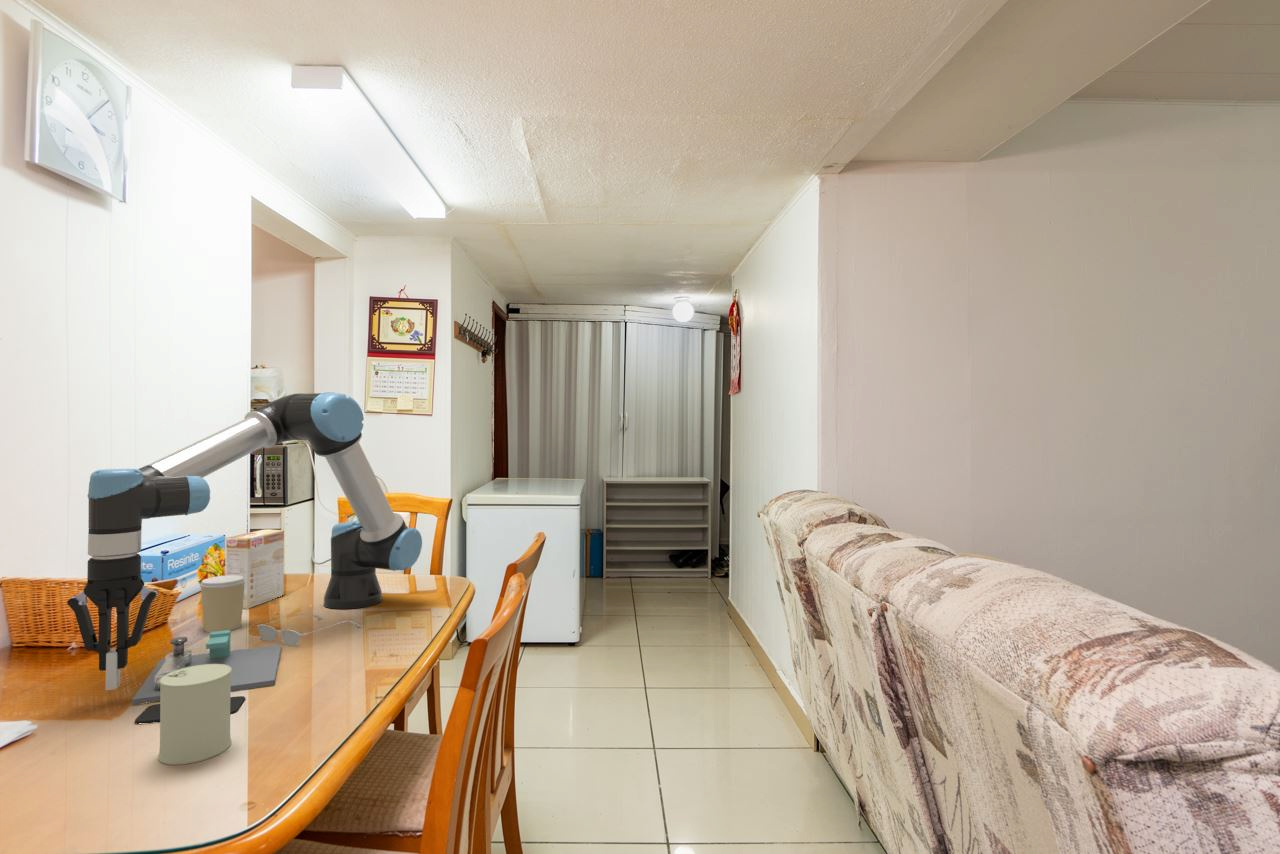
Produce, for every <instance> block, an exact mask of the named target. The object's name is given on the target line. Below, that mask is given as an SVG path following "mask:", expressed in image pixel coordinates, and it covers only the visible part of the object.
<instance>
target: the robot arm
mask: <svg viewBox="0 0 1280 854" xmlns="http://www.w3.org/2000/svg"><path fill="white" fill-rule="evenodd" d="M363 413H364V412H363V411H362V408H361V406H360V404H359V403H358V402H357V401H356V400H355V399H354V398H352V397H351V396H349V395H348V394H344V393H337V392H333V391H332V392H328V391H327V392H322V393H321V392H320V393H318V392H317V393H316V392H315V393H314V392H313V393H292V394H288V395H285V396H282V397H279V398H278V399H275V400H273V401H271V402H268V403H265V404H264V405H262V406H260V407H257V408H255V409H253V410H251V411H249V412H247V413H246V414H245V415H244V418H243V419H242V420H239V421H238V422H236V423H234V424H232V425H230V426H227V427H225V428H223V429H222V430H219V431H217V432H214V433H213V434H211V435H209V436H206V437H204V438H202V439H199V440H197V441H195V442H193V443H192V444H189V445H187V446H185V447H183V448H181V449H178V450H176V451H174V452H172V453H171V454H168V455H166V456H164V457H161V458H160V459H158V460H155V461H153V462H151V463H149V464H147V465H144V466H142V467H140V468H110V469H109V468H107V469H106V468H105V469H97V470H94V471H93V472H92V473H91V474H90V476H89V483H88V493H87V498H88V527H87V528H88V534H87V556H90V558H89V559H88V560H87V574H86V575H87V582H86V584H85V586H84V587H83V592H80V593H79V594H77V595H74V596H72V597H70V598H69V599H68V600H67V601H66V603H67V605H68V606H69V608H70V609H71V610H72V611H73V613H74V615H75V618H76V622H77V625H78V628H79V632H80V635H81V638H82V642H83V645H84V649H85V651H87V652H91V651H92V652H96V653H98V669H99V671H100V672H103V671H105V691H111V690H112V691H113V690H117V689H118V688H119V686H120V685H121V670H122V669H125V668H126V666H127V665H128V658H129V656H128V655H129V653H128V652H129V648H132V647H136V646H137V645H138V643H140V641H141V640H142V636H143V633H144V629H145V626H146V623H147V619H148V616H149V613H150V610H151V606H152V603H153V602H154V600H155V599H156V598H157V596H158V595H159V590H158V589H151V588H149V587H146V585H145V582H144V580H143V579H142V555H140V554H139V552H141V551H142V523H143V520H147V519H153V518H163V517H175V516H188V515H192V514H198V513H201V512H203V511H204V510H205V509H206V508H207V507H208V505H209V504H210V501H211V488H210V485H209V484H208V482H207V480H206V479H204V478H205V477H207V476H210V475H211V474H213V473H214V472H217V471H218V470H221V469H222V468H224V467H226V466H228V465H230V464H232V463H234V462H235V461H237V460H240V459H242V458H243V457H245V456H247V455H249V454H251V453H254V452H255V451H257V450H259V449H261V448H265V449H269V448H272V447H274V446H276V445H278V444H281V443H284V442H292V441H308V443H309V445H310V446H311V448H312V449H313V451H314V453H315V455H316V456H319V457H323V458H325V459H326V461H327V463H328V466H329V467H330V469H331V471H332V473H333V475H334V476H335V478H336V480H337V482H338V484H339V486H340V488H341V490H342V492H343V494H344V495H345V497H346V500H347V501H348V503H349V505H350V507H351V509H352V511H353V512H354V514H355V516H356V518H357V520H354V521H353V520H352V521H346V522H339V523H336V524H334V526H332V529H331V537H330V574H331V575H330V579H329V582H328V584H327V588H326V589H325V593H324V597H323V606H324V607H326V608H330V609H335V610H336V609H337V610H347V609H359V608H365V607H371V606H374V605H376V604H379V603H380V602H382V601H383V591H382V588H381V585H380V582H379V580H378V577H377V573H376V571H377V570H376V569H379V570H387V571H407V570H408V569H410V568H412V567H413V566H414V565H415V564H416V562H417V561H418V560H419V557H420V555H421V551H422V549H423V539H422V534H421V532H420V531H419V530H418V529H417V528H414V527H411V526H410V527H408V526H407V524H406V522H405V520H404V518H403V516H402V515H401V514H399V513H397V512H394V511H393V508H392V507H391V505H390V503H389V501H388V498H387V496H386V494H385V493H384V491H383V489H382V487H381V484H380V482H379V481H378V480H379V479H377V476H376V475H375V472H374V470H373V468H372V466H371V464H370V462H369V459H368V458H367V456H366V454H365V452H364V450H363V448H362V445H361V444H360V441H361V439H362V437H363V433H362V430H363V428H364V423H363V421H364V414H363ZM139 594H141V595H140V601H142V602H141V603H140V606H139V610H138V613H137V616H136V618H135V622H134V626H133V629H132V633H131V636H130V635H129V631H130V629H129V628H130V606H131V603H132V602H133V601H134V600H135V598H136V597H137V596H138V595H139ZM88 600H90V602H92V603H93V604H94V605H95V606H96V607H97V615H98V637H97V633H96V630H95V627H94V625H93V624H94V623H93V621H92V617H91V613H90V610H89V607H88V605H87V603H88ZM113 608H115V611H116V612H115V613H116V648H111V647H112V646H113V644H112V611H113ZM129 636H130V638H129Z"/></svg>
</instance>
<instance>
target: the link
mask: <svg viewBox="0 0 1280 854" xmlns="http://www.w3.org/2000/svg"><path fill="white" fill-rule="evenodd" d="M187 642H188V637H186V636H179V637H173V638H171V639H170V645H173V647H172V649H173V650H172V652H171V651H170V652H169V653H167V654H165V655H164V658H165V663H164V664H163V665H162V667H161V668H160V670H159V671H158V673H157V674H156V676H155V687H154V688H155V689H160V679H161V678H162V677H163V676H165V675H166V674H168V673H171V672H173V671H176V670H179V669H183V668H185V666H186V665H188V664H190V663H191V662H192V655H193V652H192V650H189V649H188V650H185V643H187Z"/></svg>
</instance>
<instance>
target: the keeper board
mask: <svg viewBox="0 0 1280 854" xmlns="http://www.w3.org/2000/svg"><path fill="white" fill-rule="evenodd" d="M231 631H232V630H225V631H216V632H209V638H208V640H207V642H206V644H205V648H206V649H205V650H209V653H208V652H207V653H198V654H192V662H191V663H190V664H188V665H186V666H185V668H187V667H191V666H197V665H204V664H224V665H228V666H230V667H231V669H232V671H231V692H235V691H243V690H249V689H250V690H251V689H257V688H264V687H265V688H266V687H271V686H275V683H276V679H277V678H276V677H277V672H278V668H279V667H278V666H279V663H280V659H281V658H280V657H281V653H282V644H277V645H268V646H260V647H258V646H257V647H249V648H243V649H242V648H241V649H233V650H231V638H232V636H231V633H232V632H231ZM164 663H165V657H164V658H160V660H159V661H158V663H157V664H156V665H155V667H154V668H153V669H152V671H151V672H150V673H149V675H148V677H147V678H146V679H145V681H144V682H143V684H142V685H141V686H140V688H138V690H137V692H136V693H135V695H134V696H133V697H132V699H131V706H134V705H133V704H137V705H142V704H141V703H144V704H150V703H149V702H151V703H157V702H160V689H155V688H154V687H155V676H156V674H157V673H158V671H159V670H160V668H161V667H162V665H163V664H164ZM156 701H157V702H156ZM146 702H147V703H146Z"/></svg>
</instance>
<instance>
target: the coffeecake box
mask: <svg viewBox="0 0 1280 854" xmlns="http://www.w3.org/2000/svg"><path fill="white" fill-rule="evenodd" d="M225 539H226V547H225V548H226V550H225V551H226V553H225V556H226V557H225V558H226V559H225V560H226V561H225V563H226V564H225V567H226V568H225V569H226V571H225V572H226V573H225V576H227V575H238V576H243V577H244V579H245V583H244V596H243V608H242V610H248V609H251V608H254V607H257V606H259V605H261V604H265V603H267V602H271V601H273V600H276V599H278V598H277V597H279V598H281V597H283V596H282V595H284V594H285V593H284V591H285V590H284V589H285V587H284V580H285V579H284V578H285V577H284V575H285V574H284V573H285V572H284V570H285V568H284V565H285V564H284V563H285V562H284V561H285V559H284V558H285V530H284V529H272V528H271V529H269V528H268V529H260V530H255V531H251V532H245V533H241V534H236V535H232V536H228V537H226V538H225ZM280 596H281V597H280ZM275 598H276V599H275ZM272 599H273V600H272Z"/></svg>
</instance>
